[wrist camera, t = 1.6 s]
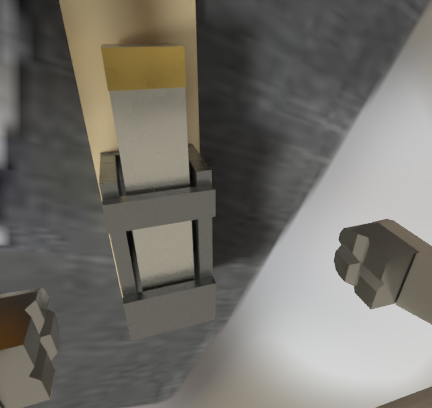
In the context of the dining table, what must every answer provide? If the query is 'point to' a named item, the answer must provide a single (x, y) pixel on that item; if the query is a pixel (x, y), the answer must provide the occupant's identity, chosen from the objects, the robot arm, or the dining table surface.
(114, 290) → the dining table surface
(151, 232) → the slip tube
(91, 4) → the board
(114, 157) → the sleeve
